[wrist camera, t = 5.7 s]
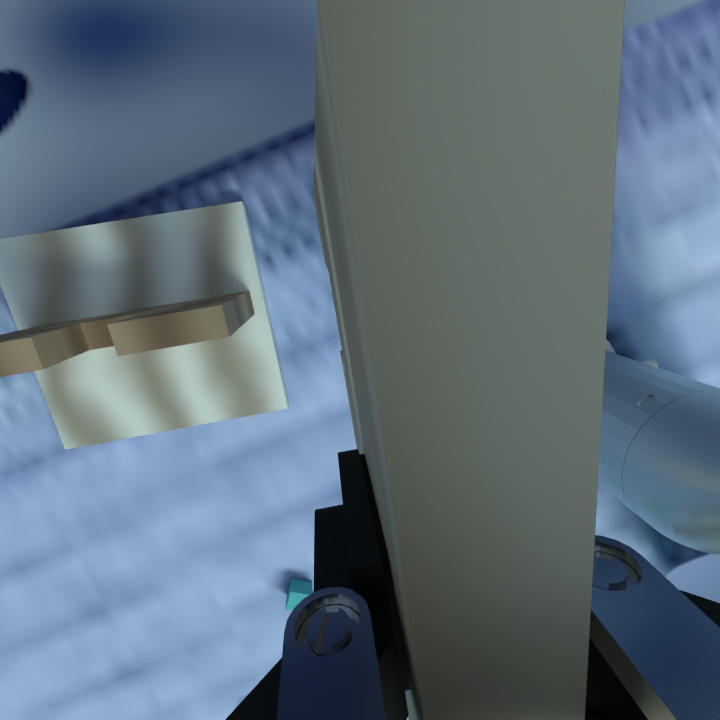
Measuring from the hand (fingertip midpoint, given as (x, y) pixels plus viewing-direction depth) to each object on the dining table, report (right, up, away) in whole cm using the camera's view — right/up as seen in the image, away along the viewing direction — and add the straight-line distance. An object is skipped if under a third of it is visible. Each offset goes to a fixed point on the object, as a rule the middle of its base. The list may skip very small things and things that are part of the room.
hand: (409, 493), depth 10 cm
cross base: (-19, +6, +25) cm, 32 cm away
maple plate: (-1, +3, +10) cm, 11 cm away
